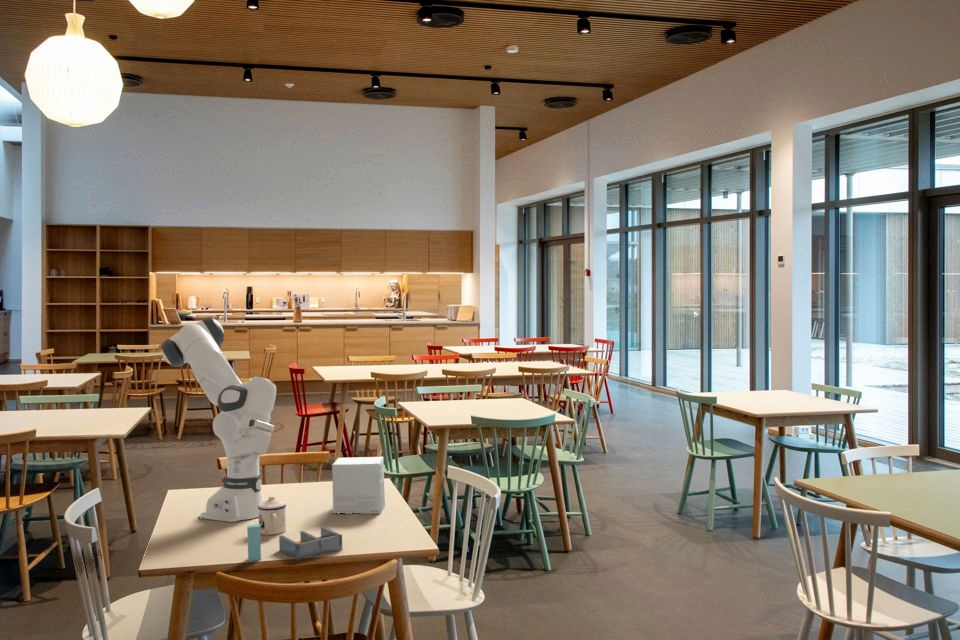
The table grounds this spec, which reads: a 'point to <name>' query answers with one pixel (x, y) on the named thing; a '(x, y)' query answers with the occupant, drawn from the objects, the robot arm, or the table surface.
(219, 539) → the table surface
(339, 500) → the supplement box
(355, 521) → the table surface
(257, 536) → the teal rectangular block
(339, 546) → the rack
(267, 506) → the teacup with lid
